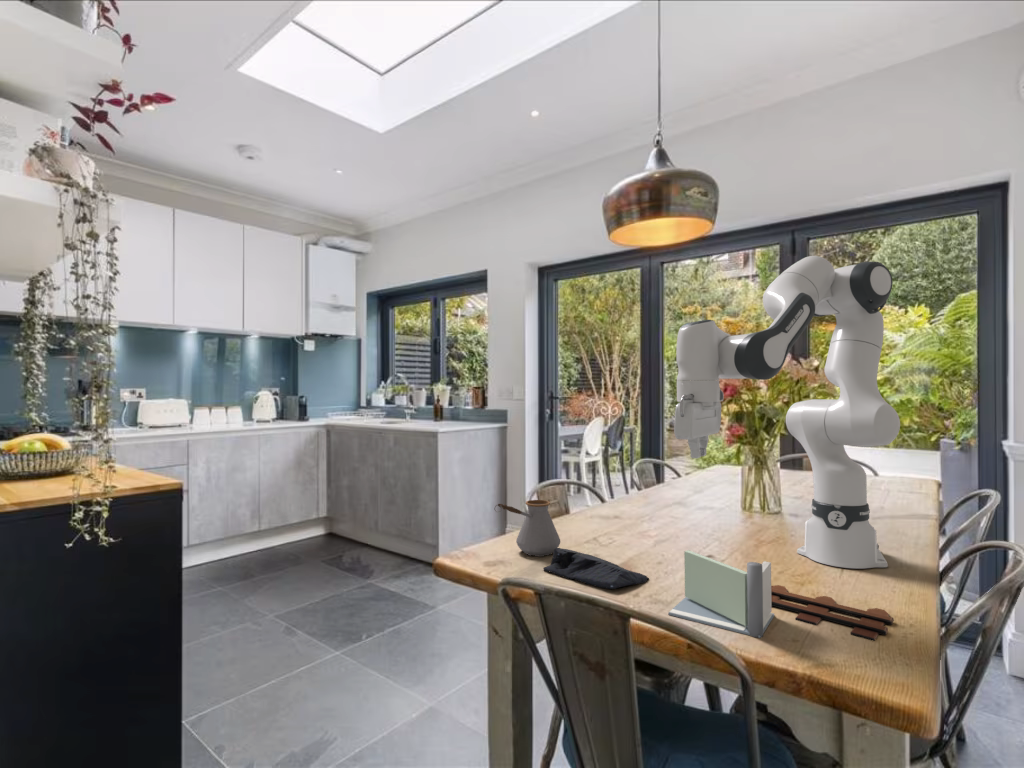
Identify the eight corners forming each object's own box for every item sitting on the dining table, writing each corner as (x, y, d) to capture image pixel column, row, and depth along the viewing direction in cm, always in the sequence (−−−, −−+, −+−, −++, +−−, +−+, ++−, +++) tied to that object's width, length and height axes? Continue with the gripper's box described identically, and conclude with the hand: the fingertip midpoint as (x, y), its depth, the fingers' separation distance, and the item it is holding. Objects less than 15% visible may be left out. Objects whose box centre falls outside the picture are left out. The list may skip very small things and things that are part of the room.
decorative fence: (882, 647, 90) (898, 619, 100) (882, 637, 90) (898, 609, 100) (740, 608, 106) (767, 587, 116) (740, 599, 106) (767, 579, 116)
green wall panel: (750, 624, 95) (749, 573, 95) (745, 626, 94) (744, 574, 94) (689, 595, 108) (689, 550, 108) (684, 596, 108) (684, 551, 108)
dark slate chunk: (607, 599, 110) (607, 576, 110) (537, 571, 128) (537, 550, 128) (655, 582, 119) (655, 560, 119) (583, 557, 137) (583, 539, 137)
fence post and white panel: (761, 613, 101) (760, 549, 101) (775, 616, 100) (774, 551, 100) (746, 635, 93) (745, 564, 93) (761, 638, 91) (760, 567, 91)
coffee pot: (535, 542, 149) (534, 488, 149) (569, 550, 141) (568, 493, 141) (480, 562, 133) (479, 501, 133) (515, 572, 125) (515, 507, 125)
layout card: (688, 596, 110) (688, 593, 110) (774, 615, 100) (774, 613, 100) (668, 614, 101) (668, 612, 101) (760, 638, 92) (760, 635, 92)
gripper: (696, 394, 109) (697, 463, 109) (725, 393, 125) (726, 453, 125) (666, 394, 112) (666, 461, 112) (698, 393, 129) (699, 451, 129)
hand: (698, 457), depth 119 cm, fingers open, 2 cm apart
